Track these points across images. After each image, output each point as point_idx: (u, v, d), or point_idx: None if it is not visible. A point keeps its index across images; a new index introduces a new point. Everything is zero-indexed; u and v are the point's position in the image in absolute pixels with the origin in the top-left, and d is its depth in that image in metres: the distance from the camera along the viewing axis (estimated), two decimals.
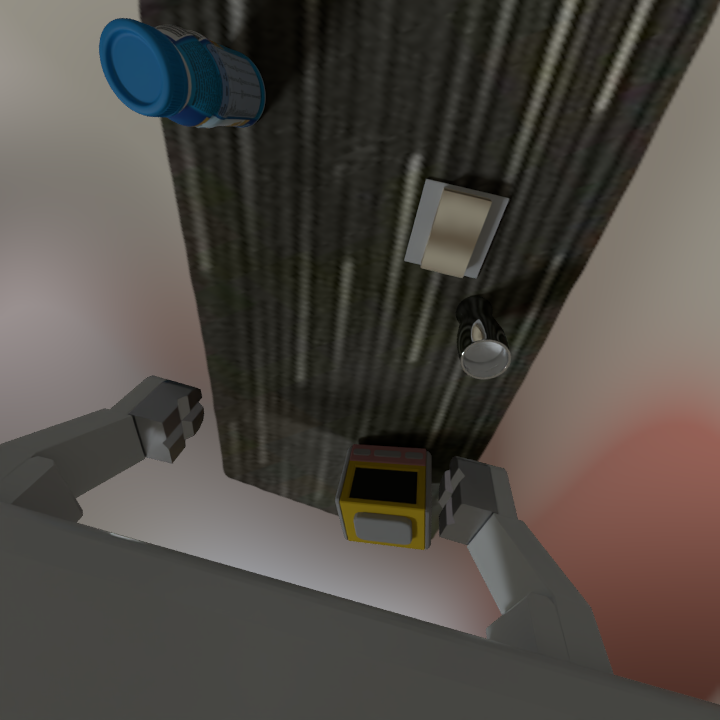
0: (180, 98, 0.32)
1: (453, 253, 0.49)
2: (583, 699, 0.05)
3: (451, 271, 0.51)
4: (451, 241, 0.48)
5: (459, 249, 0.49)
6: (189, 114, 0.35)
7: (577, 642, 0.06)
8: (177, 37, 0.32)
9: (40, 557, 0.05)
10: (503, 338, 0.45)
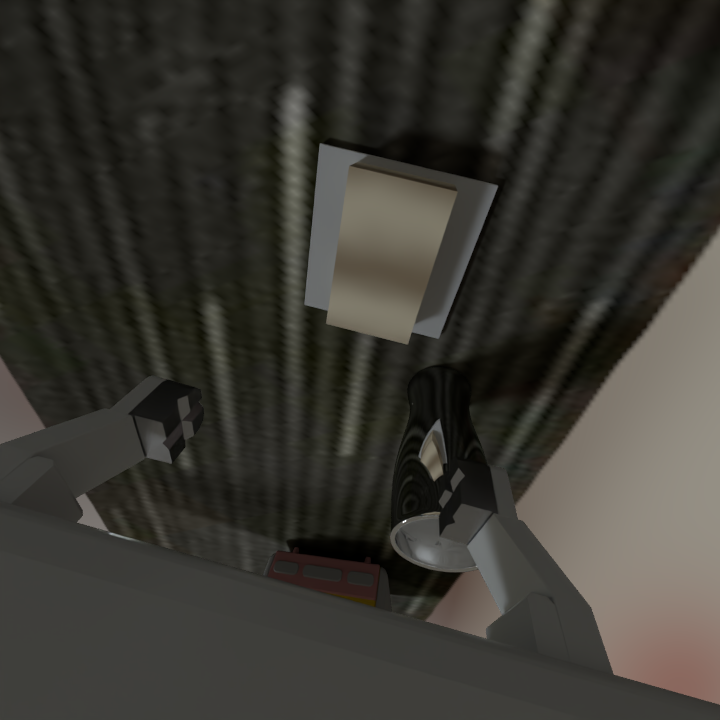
0: None
1: (385, 300, 0.24)
2: (583, 699, 0.05)
3: (385, 332, 0.26)
4: (377, 275, 0.23)
5: (395, 292, 0.24)
6: None
7: (577, 642, 0.06)
8: None
9: (40, 557, 0.05)
10: None
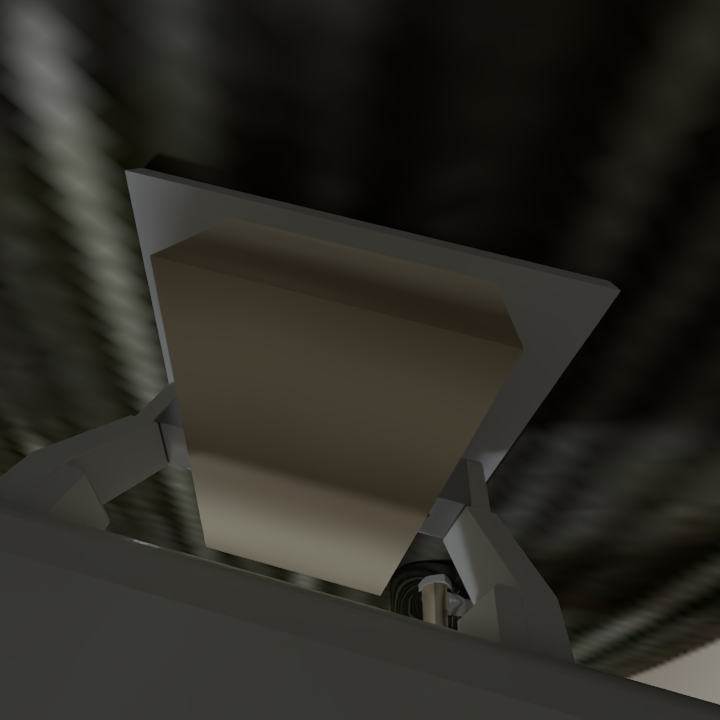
0: None
1: (322, 534, 0.10)
2: (583, 699, 0.05)
3: (330, 574, 0.12)
4: (295, 495, 0.09)
5: (344, 526, 0.10)
6: None
7: (541, 632, 0.06)
8: None
9: (39, 557, 0.05)
10: None
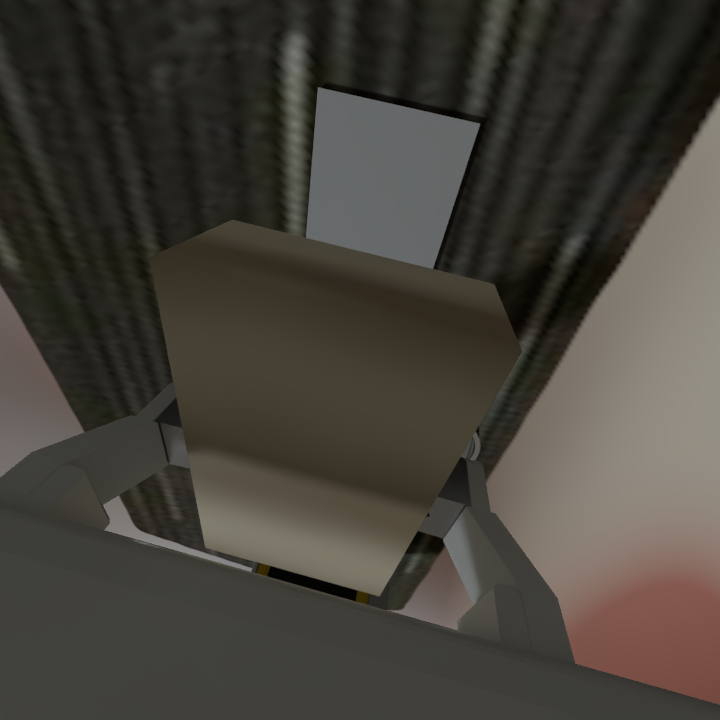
0: None
1: (322, 535, 0.10)
2: (583, 699, 0.05)
3: (329, 575, 0.12)
4: (294, 496, 0.09)
5: (343, 527, 0.10)
6: None
7: (540, 632, 0.06)
8: None
9: (39, 557, 0.05)
10: None
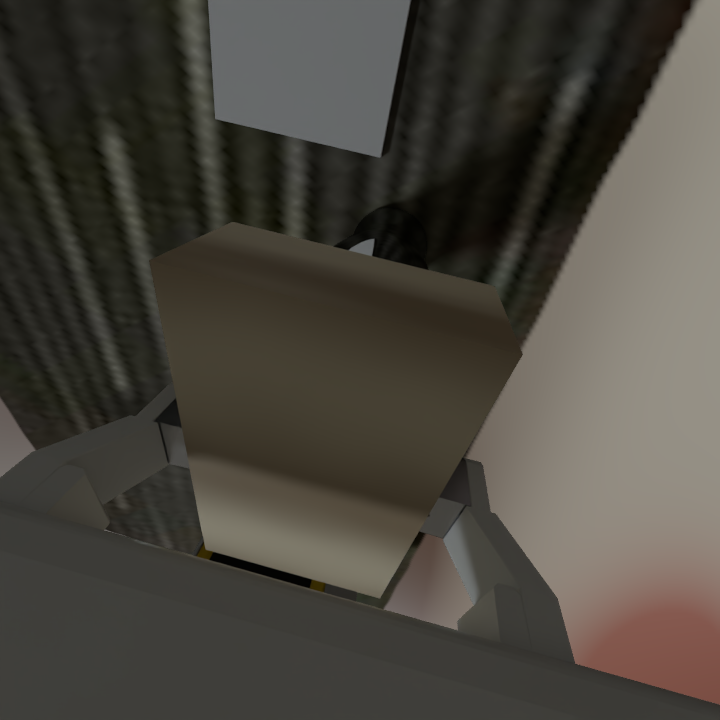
0: None
1: (322, 537, 0.10)
2: (583, 699, 0.05)
3: (329, 577, 0.12)
4: (295, 499, 0.09)
5: (343, 529, 0.10)
6: None
7: (540, 632, 0.06)
8: None
9: (40, 557, 0.05)
10: None
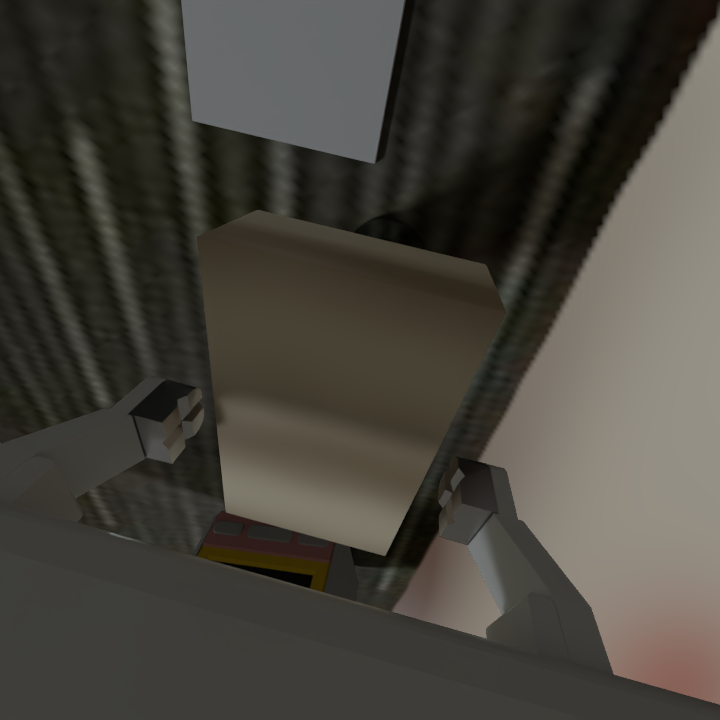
0: None
1: (334, 494, 0.11)
2: (583, 699, 0.05)
3: (339, 536, 0.13)
4: (310, 456, 0.10)
5: (353, 485, 0.11)
6: None
7: (577, 642, 0.06)
8: None
9: (40, 557, 0.05)
10: None
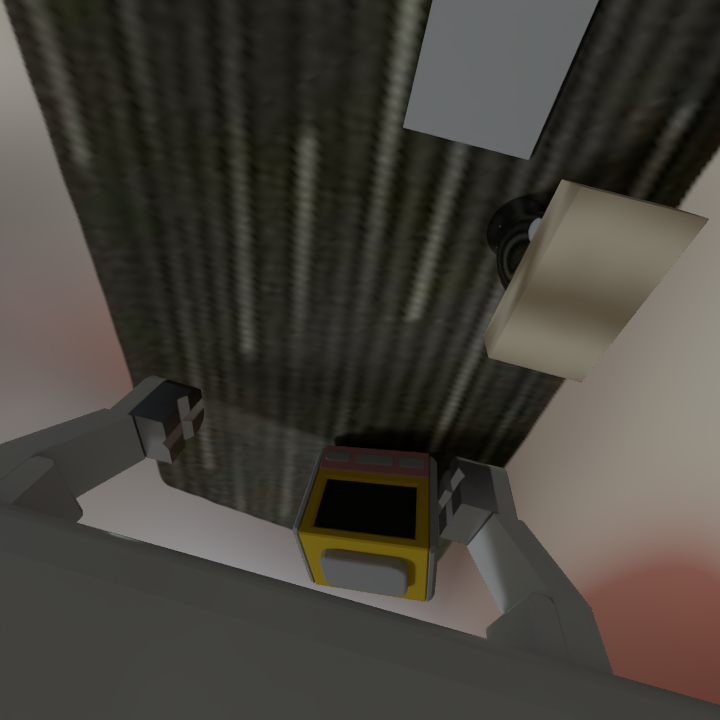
0: None
1: (571, 334, 0.21)
2: (583, 699, 0.05)
3: (558, 368, 0.23)
4: (571, 307, 0.20)
5: (587, 326, 0.21)
6: None
7: (577, 642, 0.06)
8: None
9: (40, 556, 0.05)
10: None
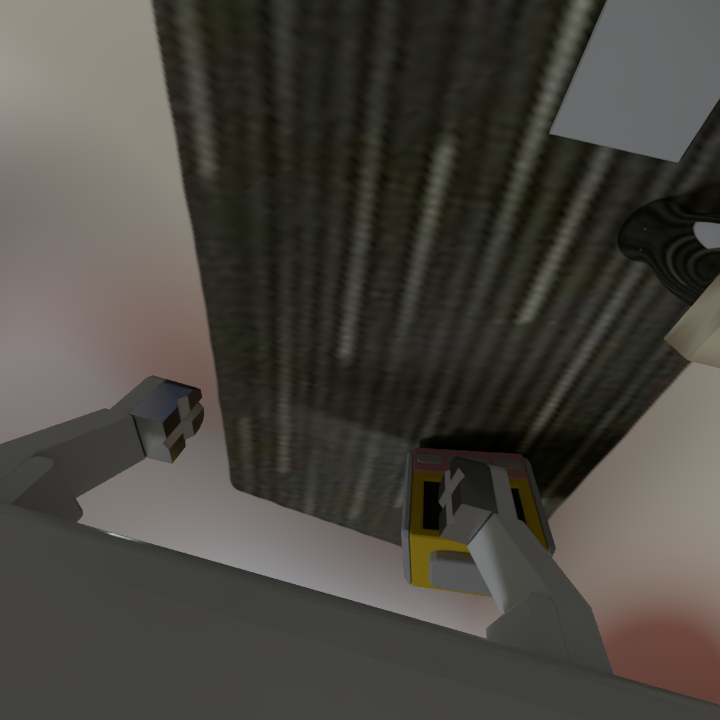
0: None
1: None
2: (583, 699, 0.05)
3: None
4: None
5: None
6: None
7: (577, 642, 0.06)
8: None
9: (40, 557, 0.05)
10: None
